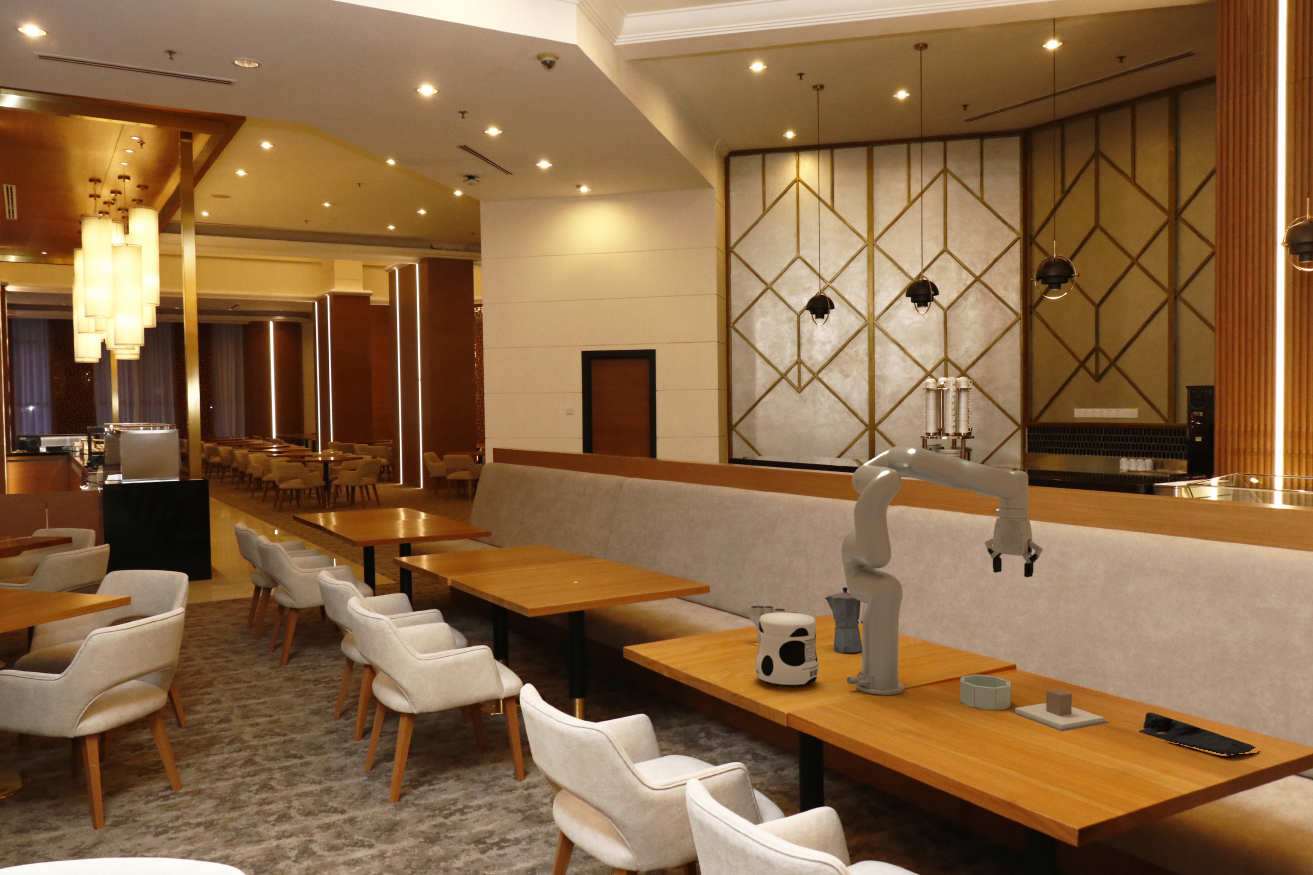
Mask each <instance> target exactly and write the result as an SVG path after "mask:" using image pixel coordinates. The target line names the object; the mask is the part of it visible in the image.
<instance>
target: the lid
mask: <svg viewBox="0 0 1313 875" xmlns="http://www.w3.org/2000/svg"><path fill="white" fill-rule="evenodd" d="M1045 693H1046V694H1045V695H1046V697H1045V698H1046V700H1045V701H1046V702H1045V703H1038V704H1032V705H1024V706H1019V707H1015V708H1014V710H1015V712H1016V713H1019V714H1022V715H1024V716H1027V717H1030V718H1032V719H1035V720H1038V721H1040V722H1043V723H1046V724H1048V725H1051V726H1054V727H1056V728H1059V729H1066V728H1072V727H1077V726H1083V725H1088V724H1094V723H1099V722H1104V720H1105V719H1104V718H1105V717H1103V716H1100V715H1097V714H1094V713H1092V712H1089V711H1086V710H1083V709H1080V708H1077V707H1074V706H1072V702H1073V701H1072V700H1073V699H1072V698H1073V693H1072V692H1068V691H1066V690H1062V689H1059V688H1058V689H1052V690H1046V692H1045Z"/></svg>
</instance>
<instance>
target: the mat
mask: <svg viewBox="0 0 1313 875" xmlns="http://www.w3.org/2000/svg"><path fill="white" fill-rule="evenodd" d="M1008 712H1009V713H1012V714H1015V715H1018V716H1019V717H1022V718H1024V719H1025V718H1026V719H1028V720H1030V721H1034V722H1036V723H1039V724H1041V725H1044V726H1046V727H1048V728H1051V729H1055V730H1057V731H1060V732H1066V731H1071V730H1077V729H1083V728H1088V727H1092V726H1099V725H1104V724H1105V725H1106V724H1109V723H1111V722H1110V721H1108V720H1105V719H1104V722H1099V723H1094V724H1088V725H1083V726H1077V727H1072V728H1066V729H1059V728H1056V727H1054V726H1051V725H1048V724H1046V723H1043V722H1040V721H1038V720H1035V719H1032V718H1030V717H1027V716H1024V715H1022V714H1019V713H1016V712H1015V709H1014V710H1009V711H1008Z"/></svg>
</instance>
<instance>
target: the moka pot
mask: <svg viewBox="0 0 1313 875" xmlns="http://www.w3.org/2000/svg"><path fill="white" fill-rule="evenodd" d="M842 591H843V592H840V593H834V594H829V595H827V596H825V597H824V599H825V600H826V601H827V603H828V605H829V608H830V609H831V611H832V618H833V621H834V625H835V627H834V638H833V640H834V641H833V650H834V652H836V651H837V653H843V654H855V653H860V652H862V638H861V637H862V636H861V632H860V627H859V624H860V623H861V625H862V624H863V620H861V621H859V620H860V617H861V616H860V615H861V601H859V600H857V599H855V598H854V597H853V596H852V595H851V594H850V592H848V587H847V586H845V587H842Z"/></svg>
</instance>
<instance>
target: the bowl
mask: <svg viewBox="0 0 1313 875" xmlns="http://www.w3.org/2000/svg"><path fill="white" fill-rule="evenodd" d="M959 682H960V683H959V684H960V685H959V686H960V692H959V693H960V694H959V701H960V703H962V704H963V705H965V706H967V707H971V708H974V709H975V708H976V709H980V710H986V711H987V710H988V711H998V710H999V711H1000V710H1005V709H1008V708H1010V707H1011V695H1012V694H1011V693H1012V692H1011V689H1012V686H1011V680H1007V679H1004V678H1002V677H999V676H995V675H986V674H985V675H984V674H968V675H962V676H960V681H959Z"/></svg>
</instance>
